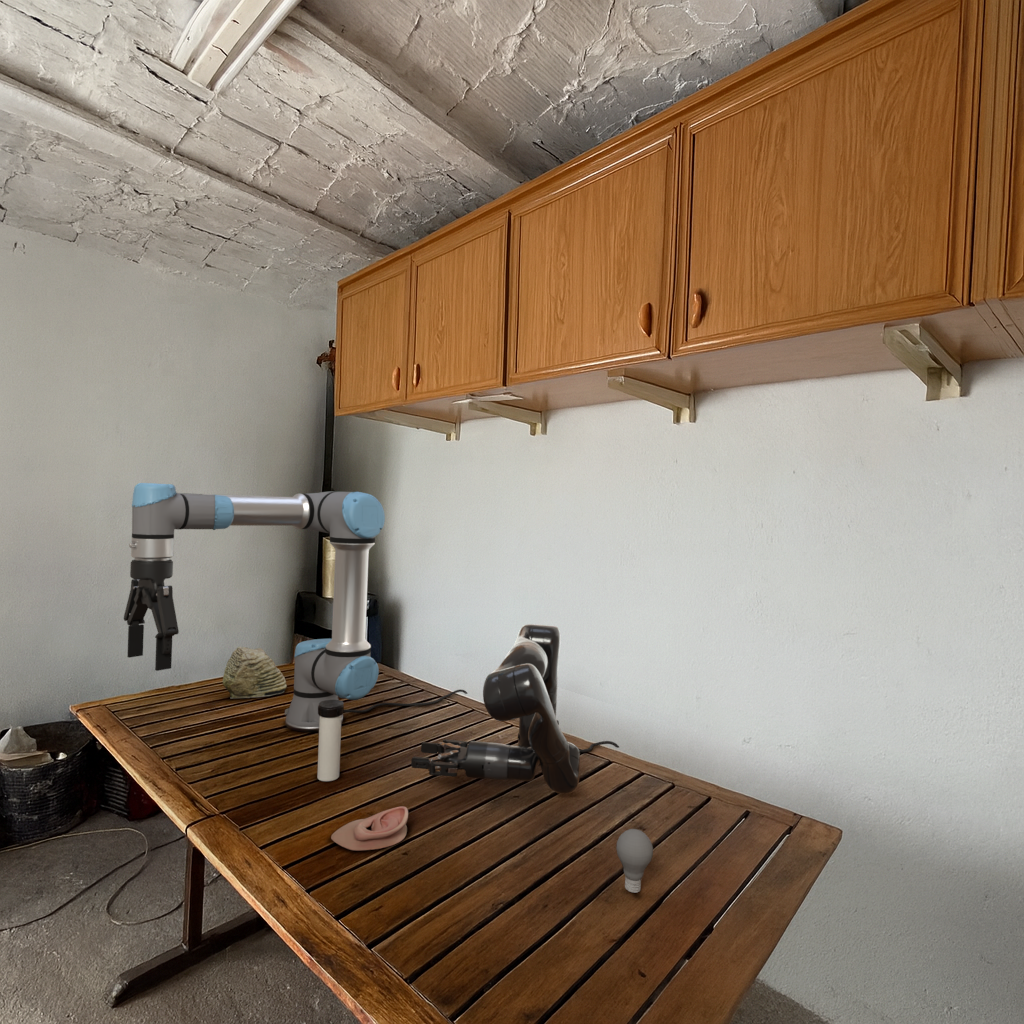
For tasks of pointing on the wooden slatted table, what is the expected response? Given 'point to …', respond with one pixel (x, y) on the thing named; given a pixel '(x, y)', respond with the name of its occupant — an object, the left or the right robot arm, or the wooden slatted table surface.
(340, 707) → the lid
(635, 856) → the light bulb
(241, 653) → the fossil
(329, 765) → the jar
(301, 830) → the wooden slatted table surface
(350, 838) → the anatomical model
